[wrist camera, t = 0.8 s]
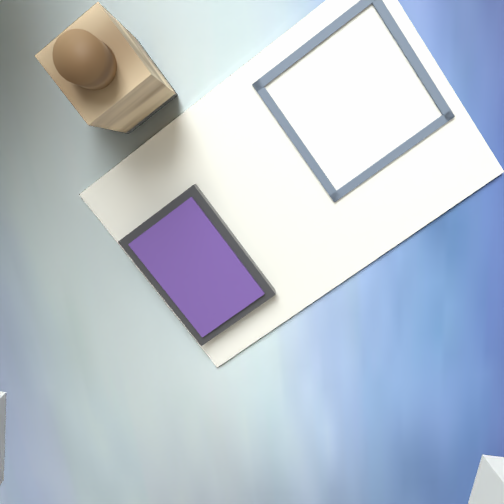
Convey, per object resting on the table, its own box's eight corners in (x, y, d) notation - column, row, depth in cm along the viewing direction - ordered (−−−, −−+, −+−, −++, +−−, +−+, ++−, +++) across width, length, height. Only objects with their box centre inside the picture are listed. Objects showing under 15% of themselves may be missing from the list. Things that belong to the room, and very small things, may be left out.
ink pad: (122, 239, 34) (116, 242, 33) (195, 183, 33) (192, 184, 32) (203, 340, 36) (200, 348, 34) (275, 289, 35) (276, 295, 33)
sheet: (80, 194, 34) (77, 194, 33) (373, -36, 30) (374, -39, 30) (217, 365, 36) (217, 368, 36) (501, 171, 33) (505, 171, 33)
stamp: (89, 80, 32) (14, 46, 23) (138, 40, 32) (83, -13, 22) (129, 133, 33) (73, 122, 23) (177, 94, 32) (141, 66, 23)
